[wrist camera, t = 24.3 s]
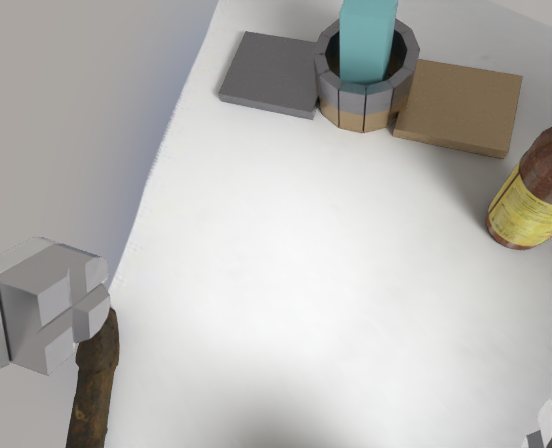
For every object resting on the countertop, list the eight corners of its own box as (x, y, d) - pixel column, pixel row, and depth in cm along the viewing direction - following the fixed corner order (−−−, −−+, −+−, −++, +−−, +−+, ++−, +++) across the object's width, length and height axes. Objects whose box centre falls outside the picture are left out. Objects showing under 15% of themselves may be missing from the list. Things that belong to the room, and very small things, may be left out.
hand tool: (105, 516, 42) (79, 530, 37) (65, 512, 42) (35, 525, 38) (140, 312, 49) (121, 303, 44) (105, 311, 49) (83, 302, 45)
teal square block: (386, 81, 54) (400, -17, 41) (377, 112, 53) (388, 20, 40) (350, 75, 55) (352, -23, 43) (340, 105, 54) (339, 13, 41)
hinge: (518, 81, 52) (543, 36, 45) (502, 162, 49) (527, 125, 42) (249, 37, 60) (237, -7, 53) (220, 103, 57) (204, 65, 50)
